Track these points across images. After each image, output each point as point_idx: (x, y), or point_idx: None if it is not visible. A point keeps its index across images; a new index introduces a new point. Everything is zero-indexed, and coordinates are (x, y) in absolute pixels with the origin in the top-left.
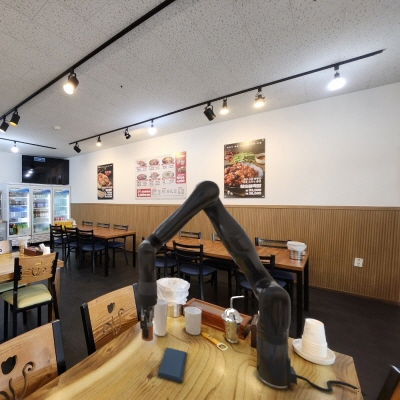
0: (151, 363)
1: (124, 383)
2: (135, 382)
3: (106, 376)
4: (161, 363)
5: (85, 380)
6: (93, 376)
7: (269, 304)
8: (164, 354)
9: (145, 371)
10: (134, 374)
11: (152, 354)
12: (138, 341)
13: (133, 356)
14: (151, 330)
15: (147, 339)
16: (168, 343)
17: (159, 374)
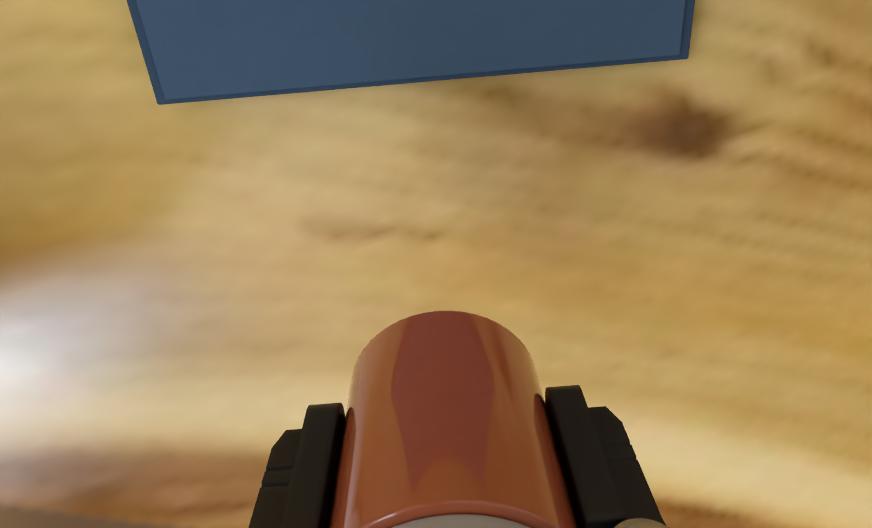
0: (501, 180)
1: (842, 297)
2: (813, 223)
3: (793, 431)
4: (505, 71)
5: (860, 514)
6: (812, 494)
7: None
8: (317, 87)
9: (642, 194)
10: (714, 267)
11: (352, 218)
12: (231, 404)
13: None
14: (512, 439)
15: (537, 377)
16: (23, 112)
17: (686, 37)
